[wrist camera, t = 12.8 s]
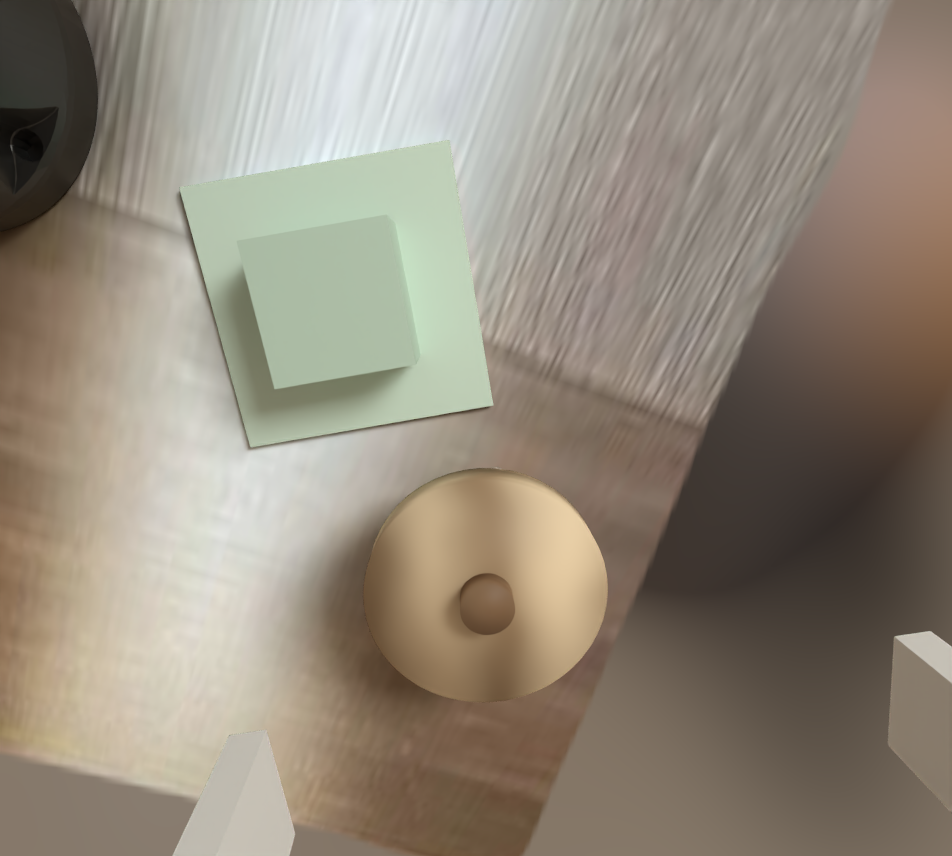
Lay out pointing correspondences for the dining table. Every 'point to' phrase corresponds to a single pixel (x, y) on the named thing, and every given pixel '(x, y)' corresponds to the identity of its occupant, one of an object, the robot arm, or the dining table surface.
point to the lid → (484, 586)
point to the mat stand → (342, 292)
